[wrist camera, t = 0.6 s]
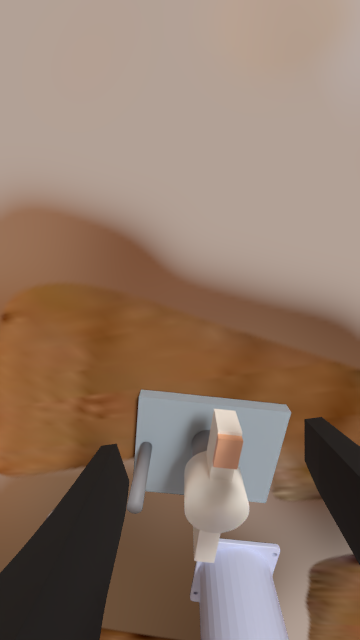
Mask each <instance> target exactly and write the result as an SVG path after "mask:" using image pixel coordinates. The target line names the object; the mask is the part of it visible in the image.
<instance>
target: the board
mask: <svg viewBox="0 0 360 640" xmlns="http://www.w3.org/2000/svg"><path fill="white" fill-rule="evenodd" d="M214 409H223V410H232V411H236V414H237V417H238V421H239V424H240V427H241V430H242V438H243V446H242V450H241V455H240V459H239V464H238V465H239V467H240V471H241V475H242V479H243V483H244V487H245V491H246V495H247V499H248V501H251V502H261V503H266V500H267V497H268V493H269V490H270V486H271V482H272V479H273V475H274V472H275V468H276V465H277V461H278V457H279V454H280V450H281V447H282V443H283V440H284V436H285V432H286V429H287V425H288V422H289V418H290V414H291V412H290V410H289V409H288V407H287V405H285V404H275V403H265V402H256V401H246V400H237V399H227V398H218V397H208V396H198V395H189V394H179V393H170V392H160V391H151V390H141V392H140V395H139V404H138V418H137V432H136V447H135V461H134V476H133V481H132V485H131V490H130V494H129V499H128V503H127V510H128V511H129V512H131V513H135V514H136V513H139V512H141V511H142V508H143V502H144V495H145V491H149V492H159V493H160V492H161V493H170V494H180V495H184V470H185V466H186V464H187V462H188V461H189V460H190V459H191V458H192V457H193V456H195V455H196V454H198V453H201V452H204V451H207V446H208V440H209V435H210V429H211V423H212V417H213V412H214Z"/></svg>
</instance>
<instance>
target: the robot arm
mask: <svg viewBox="0 0 360 640" xmlns="http://www.w3.org/2000/svg"><path fill="white" fill-rule="evenodd" d="M305 462H306V464H307V467H308V469H309V471H310V474H311V476H312V478H313V480H314V483H315V485H316V487H317V489H318V491H319V493H320V495H321V497H322V499H323V500H324V502H325V504H326V506H327V508H328V509H329V511H330V513H331V515H332V516H333V518H334V520H335V522H336V524H337V525H338V527H339V529H340V531H341V532H342V534H343V536H344V538H345V539H346V541H347V543H348V545H349V547H350V548H351V550H352V552H353V554H354V555H355V557H356V559H357V561H358V563H359V564H360V447H359V446H358V445H357V444H356V443H354V442H353V441H352V440H350V439H349V438H348V437H347V436H345V435H344V434H343V433H341V432H340V431H339V430H338V429H336V428H335V427H334V426H332V425H331V424H330V423H329V422H327V421H326V420H325V419H323V418H322V417H319V418H311V419H305ZM128 487H129V479H128V476H127V473H126V470H125V467H124V464H123V461H122V458H121V456H120V453H119V450H118V447H117V444H112V445H104V446H101V447H100V448H99V450H98V451H97V452H96V454H95V455H94V457H93V458H92V459H91V461H90V462H89V463H88V465H87V466H86V468H85V469H84V470H83V472H82V473H81V474H80V476H79V477H78V478H77V480H76V481H75V483H74V484H73V485H72V487H71V488H70V489H69V491H68V492H67V493H66V495H65V496H64V497H63V498H62V500H61V501H60V502H59V504H58V505H57V506H56V508H55V509H54V510H53V511H52V513H51V514H50V515H49V516H48V518H47V519H46V520H45V521H44V523H43V524H42V525H41V526H40V528H39V529H38V530H37V531H36V532H35V534H34V535H33V536H32V537H31V539H30V540H29V541H28V542H27V543H26V545H25V546H24V547H23V548H22V549H21V551H19V553H18V554H17V555H16V556H15V557H14V558H13V559H12V561H11V562H10V563H9V564H8V565H7V566H6V567H5V568H4V570H3V571H2V572H1V573H0V640H99V639H100V633H101V626H102V620H103V614H104V608H105V603H106V598H107V593H108V589H109V584H110V580H111V575H112V571H113V567H114V562H115V558H116V553H117V549H118V544H119V540H120V536H121V530H122V526H123V522H124V517H125V511H126V505H127V497H128ZM279 553H280V548H279V545H277V544H274V543H263V542H253V541H242V540H232V539H222V538H219V543H218V547H217V552H216V556H215V561H214V563H210V562H199V561H196V565H195V570H194V576H193V581H192V586H191V592H190V599H191V600H192V601H195V602H199V605H200V629H201V640H289V638H288V635H287V631H286V627H285V623H284V619H283V615H282V612H281V608H280V604H279V601H278V597H277V593H276V589H275V586H274V582H273V578H272V575H273V572H274V569H275V566H276V563H277V559H278V556H279Z"/></svg>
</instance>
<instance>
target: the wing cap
mask: <svg viewBox="0 0 360 640" xmlns="http://www.w3.org/2000/svg"><path fill="white" fill-rule="evenodd" d="M242 446H243V438H242V430H241V427H240V424H239V421H238V417H237V414H236V411H232V410H223V409H214V412H213V417H212V423H211V429H210V435H209V440H208V446H207V451H204V452H201V453H198V454H196V455H195V456H193V457H192V458H191V459H190V460H189V461H188V462H187V464H186V466H185V470H184V512H185V516H186V518H187V520H188V521H189V522H190V523H191V524H192V525H193V526H194V527H193V540H194V561H199V562H210V563H214V561H215V556H216V552H217V547H218V543H219V538H220V534H221V533H223V532H228V531H230V530H233V529H235V528H237V527H239V526H240V525H241V524H242V523H243V522H244V521H245V520H246V518H247V516H248V514H249V504H248V499H247V495H246V491H245V487H244V483H243V479H242V475H241V471H240V467H239V465H238V464H239V459H240V455H241V450H242Z"/></svg>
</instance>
